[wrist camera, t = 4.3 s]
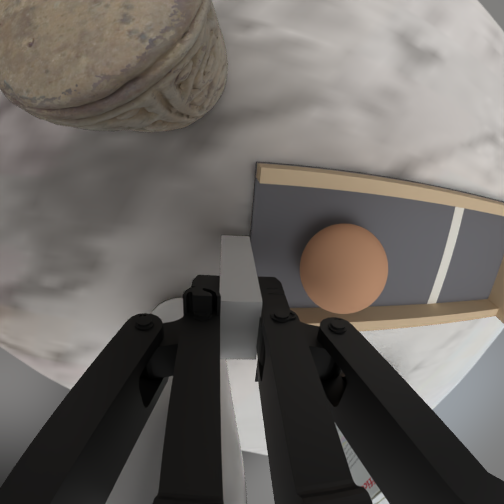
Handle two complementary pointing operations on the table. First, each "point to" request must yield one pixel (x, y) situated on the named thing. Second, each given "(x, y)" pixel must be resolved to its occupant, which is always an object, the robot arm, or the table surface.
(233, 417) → the drinking glass
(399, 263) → the lane
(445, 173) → the table surface
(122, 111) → the carving
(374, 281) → the ball
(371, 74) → the table surface
